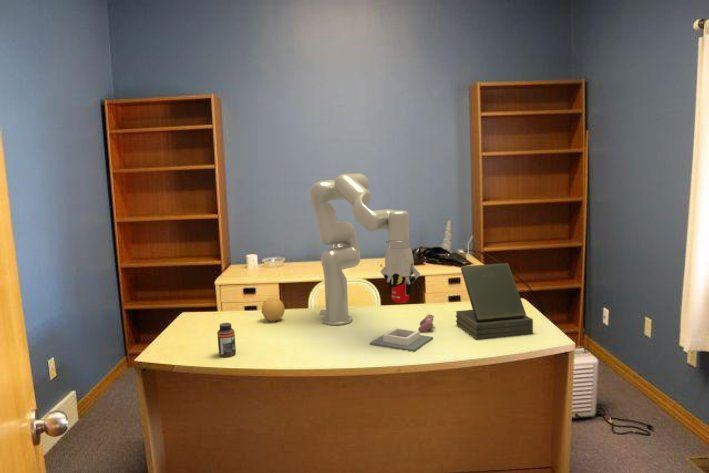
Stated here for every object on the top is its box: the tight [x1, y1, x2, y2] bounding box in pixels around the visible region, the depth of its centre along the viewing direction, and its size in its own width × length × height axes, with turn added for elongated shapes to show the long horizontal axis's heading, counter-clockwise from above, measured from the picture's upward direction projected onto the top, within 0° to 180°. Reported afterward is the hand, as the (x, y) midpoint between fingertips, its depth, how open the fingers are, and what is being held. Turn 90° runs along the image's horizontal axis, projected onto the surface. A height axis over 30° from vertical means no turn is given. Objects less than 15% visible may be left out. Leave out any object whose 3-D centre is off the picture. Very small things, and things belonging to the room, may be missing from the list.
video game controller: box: [417, 314, 434, 333], centre depth 207 cm, size 10×5×7 cm, turn 169°
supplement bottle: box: [216, 322, 237, 358], centre depth 186 cm, size 6×6×11 cm
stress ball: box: [261, 297, 286, 322], centre depth 227 cm, size 10×10×10 cm
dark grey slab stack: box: [455, 262, 534, 341], centre depth 202 cm, size 23×20×25 cm
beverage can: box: [391, 274, 410, 304], centre depth 191 cm, size 6×6×12 cm
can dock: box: [369, 327, 434, 353], centre depth 193 cm, size 18×16×3 cm
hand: (400, 292), depth 191 cm, fingers closed on beverage can, 6 cm apart
